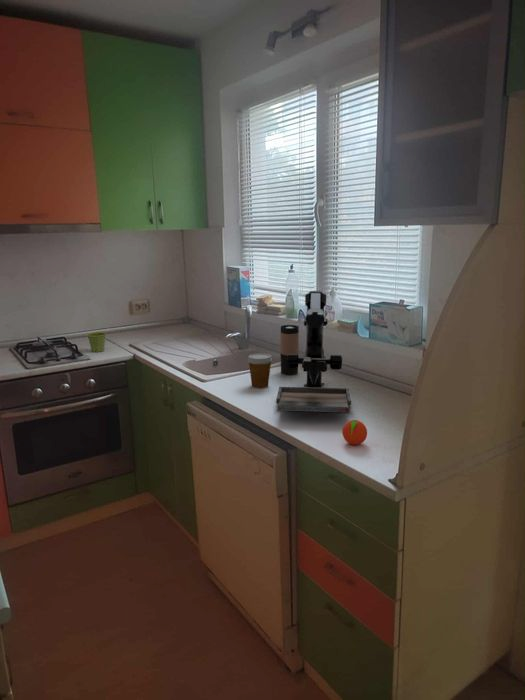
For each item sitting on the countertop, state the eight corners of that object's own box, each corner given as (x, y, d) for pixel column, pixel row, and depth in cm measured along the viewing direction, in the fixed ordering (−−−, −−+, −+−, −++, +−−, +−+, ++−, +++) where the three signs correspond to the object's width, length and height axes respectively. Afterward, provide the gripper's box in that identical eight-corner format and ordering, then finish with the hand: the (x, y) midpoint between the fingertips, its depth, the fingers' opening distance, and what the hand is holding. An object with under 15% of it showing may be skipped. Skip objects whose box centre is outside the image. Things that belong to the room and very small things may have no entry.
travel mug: (277, 371, 221) (277, 325, 216) (292, 369, 224) (292, 324, 220) (286, 376, 214) (286, 328, 210) (301, 373, 218) (302, 327, 213)
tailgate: (280, 399, 173) (277, 405, 161) (346, 401, 171) (349, 407, 159) (280, 404, 173) (277, 410, 161) (346, 406, 171) (348, 412, 159)
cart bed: (279, 397, 188) (279, 386, 187) (348, 399, 185) (348, 388, 184) (276, 410, 174) (276, 398, 173) (350, 412, 172) (351, 401, 171)
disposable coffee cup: (244, 383, 204) (244, 354, 202) (267, 381, 207) (267, 352, 205) (252, 390, 196) (251, 360, 193) (275, 388, 199) (275, 357, 196)
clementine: (363, 452, 141) (364, 427, 140) (338, 448, 144) (339, 424, 142) (368, 441, 149) (369, 417, 147) (345, 437, 151) (345, 414, 150)
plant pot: (92, 354, 255) (90, 336, 253) (85, 350, 262) (83, 334, 260) (110, 351, 261) (109, 334, 259) (103, 348, 268) (101, 331, 266)
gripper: (340, 356, 186) (340, 395, 178) (288, 355, 188) (286, 393, 180) (342, 339, 177) (342, 380, 169) (287, 338, 178) (285, 378, 170)
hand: (313, 383), depth 172 cm, fingers closed
